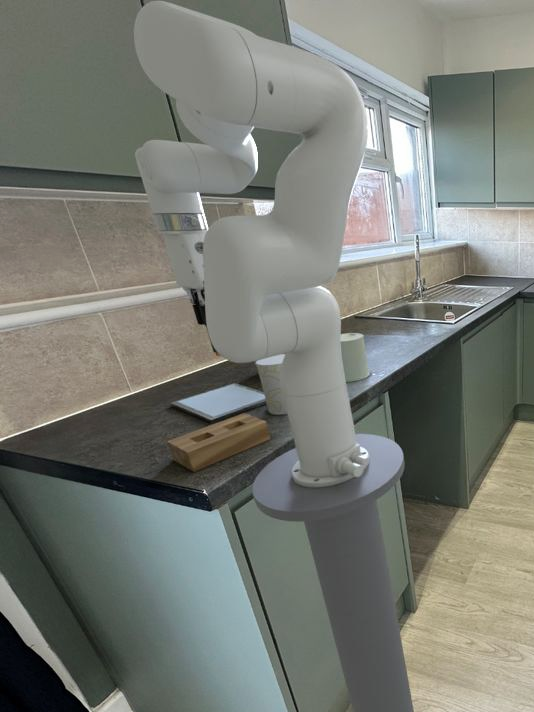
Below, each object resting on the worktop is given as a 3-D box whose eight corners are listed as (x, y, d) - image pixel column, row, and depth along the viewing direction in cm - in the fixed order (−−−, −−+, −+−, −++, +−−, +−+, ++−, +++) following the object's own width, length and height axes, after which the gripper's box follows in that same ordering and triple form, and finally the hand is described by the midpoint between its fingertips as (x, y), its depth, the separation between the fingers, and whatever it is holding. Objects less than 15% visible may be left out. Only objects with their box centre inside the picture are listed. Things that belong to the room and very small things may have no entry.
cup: (260, 413, 96) (247, 364, 92) (286, 399, 104) (274, 353, 99) (290, 415, 94) (278, 365, 90) (314, 401, 102) (303, 354, 97)
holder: (270, 438, 84) (266, 421, 83) (194, 472, 73) (187, 452, 72) (249, 429, 88) (244, 412, 87) (173, 460, 77) (166, 441, 76)
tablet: (277, 399, 104) (276, 395, 103) (211, 423, 92) (210, 419, 91) (235, 386, 114) (234, 382, 113) (171, 406, 102) (170, 402, 101)
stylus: (226, 354, 85) (210, 295, 81) (217, 356, 84) (200, 297, 79) (222, 353, 86) (205, 294, 82) (212, 355, 85) (195, 296, 80)
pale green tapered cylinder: (376, 371, 121) (369, 331, 117) (357, 383, 113) (350, 340, 109) (348, 370, 124) (341, 330, 119) (328, 380, 115) (320, 339, 111)
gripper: (227, 224, 75) (252, 324, 82) (185, 225, 82) (211, 316, 89) (179, 225, 69) (210, 333, 76) (138, 225, 77) (170, 323, 83)
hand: (210, 323), depth 82 cm, fingers closed on stylus, 1 cm apart
